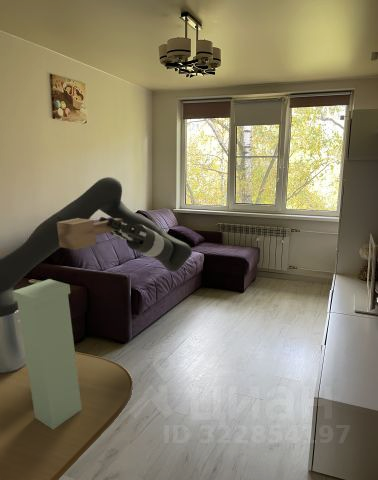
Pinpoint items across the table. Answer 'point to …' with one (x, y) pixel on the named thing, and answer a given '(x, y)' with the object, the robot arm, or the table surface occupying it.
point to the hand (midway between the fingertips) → (104, 221)
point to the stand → (49, 350)
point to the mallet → (81, 232)
